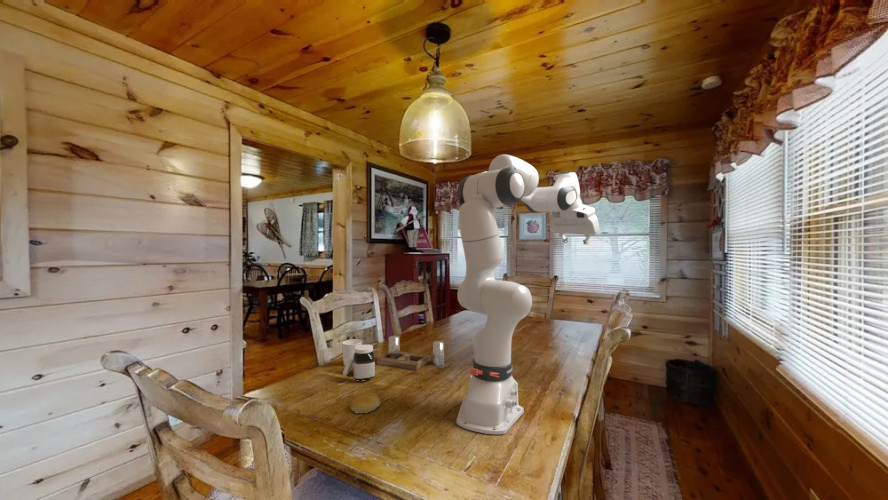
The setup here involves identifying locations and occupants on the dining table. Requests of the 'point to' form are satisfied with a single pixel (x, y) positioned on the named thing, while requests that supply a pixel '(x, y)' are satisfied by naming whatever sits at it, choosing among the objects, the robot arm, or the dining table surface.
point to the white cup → (349, 349)
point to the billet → (438, 353)
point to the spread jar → (361, 363)
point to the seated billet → (394, 347)
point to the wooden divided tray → (404, 360)
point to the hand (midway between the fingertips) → (575, 243)
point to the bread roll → (365, 402)
